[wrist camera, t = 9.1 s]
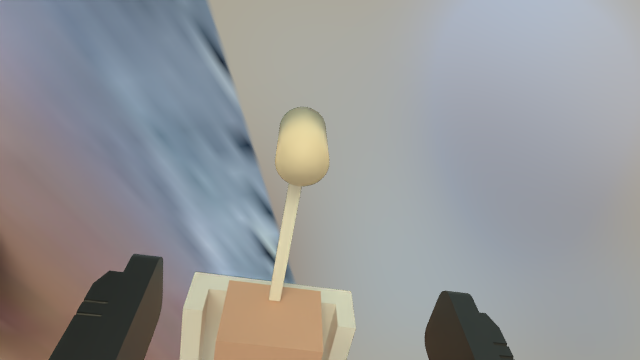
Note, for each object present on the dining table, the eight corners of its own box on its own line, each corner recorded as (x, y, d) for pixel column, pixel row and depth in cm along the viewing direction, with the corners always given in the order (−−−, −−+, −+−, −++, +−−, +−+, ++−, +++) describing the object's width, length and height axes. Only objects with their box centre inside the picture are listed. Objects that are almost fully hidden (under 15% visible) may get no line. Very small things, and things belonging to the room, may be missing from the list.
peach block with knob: (252, 98, 25) (237, 140, 19) (359, 116, 25) (374, 162, 20) (225, 324, 32) (209, 399, 27) (307, 333, 33) (308, 409, 28)
